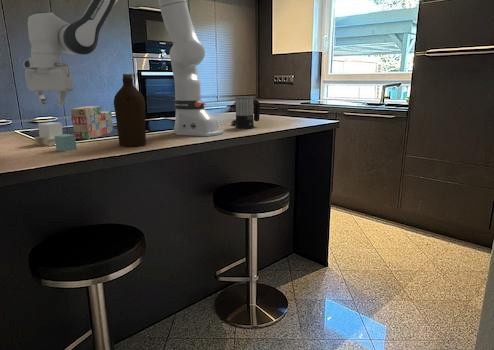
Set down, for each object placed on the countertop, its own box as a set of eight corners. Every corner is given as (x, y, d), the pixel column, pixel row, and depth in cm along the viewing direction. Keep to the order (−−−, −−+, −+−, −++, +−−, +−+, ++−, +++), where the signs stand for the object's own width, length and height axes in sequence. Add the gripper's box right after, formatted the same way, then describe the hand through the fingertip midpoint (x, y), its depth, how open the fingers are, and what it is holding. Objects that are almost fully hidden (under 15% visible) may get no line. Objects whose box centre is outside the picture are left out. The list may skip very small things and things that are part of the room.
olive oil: (153, 144, 134) (148, 74, 127) (125, 148, 127) (119, 74, 120) (139, 141, 141) (134, 74, 135) (112, 144, 134) (105, 74, 128)
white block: (63, 136, 137) (61, 122, 136) (50, 138, 133) (48, 124, 131) (52, 135, 140) (51, 122, 138) (39, 137, 135) (37, 123, 134)
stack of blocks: (100, 131, 167) (98, 104, 164) (114, 132, 166) (111, 104, 163) (74, 139, 146) (70, 108, 143) (88, 139, 146) (85, 108, 143)
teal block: (76, 149, 126) (75, 134, 125) (65, 151, 122) (63, 136, 121) (67, 148, 128) (65, 134, 127) (56, 150, 124) (54, 135, 123)
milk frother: (247, 129, 174) (247, 97, 170) (220, 127, 182) (220, 96, 178) (262, 126, 186) (262, 96, 182) (236, 124, 194) (236, 95, 190)
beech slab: (68, 143, 139) (67, 136, 138) (49, 147, 132) (48, 139, 131) (54, 142, 142) (53, 134, 141) (35, 145, 135) (34, 137, 134)
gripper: (76, 63, 122) (80, 105, 126) (36, 63, 131) (42, 102, 135) (59, 62, 117) (64, 106, 121) (19, 62, 126) (25, 103, 129)
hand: (52, 104), depth 128 cm, fingers open, 8 cm apart
